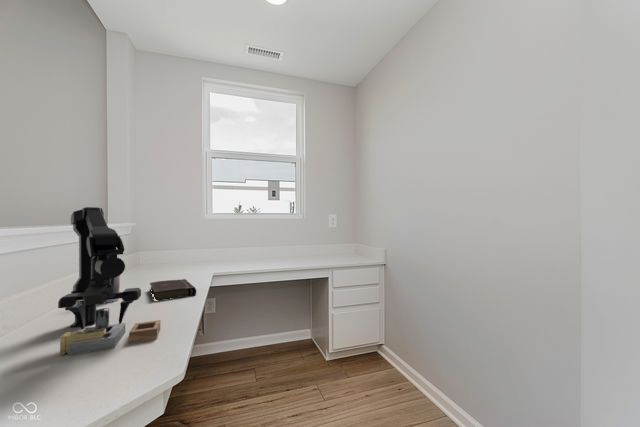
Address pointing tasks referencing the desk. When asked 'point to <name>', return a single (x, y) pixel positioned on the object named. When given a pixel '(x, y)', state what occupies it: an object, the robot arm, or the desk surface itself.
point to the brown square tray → (144, 331)
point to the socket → (98, 340)
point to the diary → (172, 289)
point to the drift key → (79, 338)
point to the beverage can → (117, 286)
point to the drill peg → (102, 319)
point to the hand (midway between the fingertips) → (102, 325)
